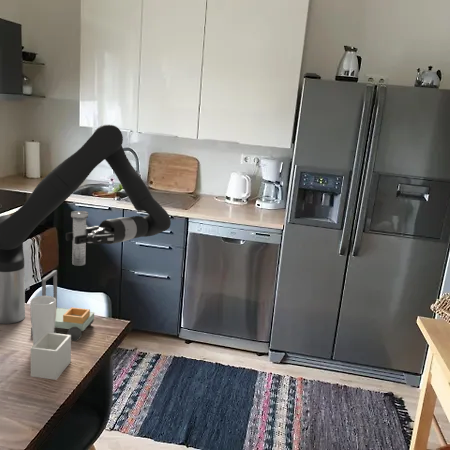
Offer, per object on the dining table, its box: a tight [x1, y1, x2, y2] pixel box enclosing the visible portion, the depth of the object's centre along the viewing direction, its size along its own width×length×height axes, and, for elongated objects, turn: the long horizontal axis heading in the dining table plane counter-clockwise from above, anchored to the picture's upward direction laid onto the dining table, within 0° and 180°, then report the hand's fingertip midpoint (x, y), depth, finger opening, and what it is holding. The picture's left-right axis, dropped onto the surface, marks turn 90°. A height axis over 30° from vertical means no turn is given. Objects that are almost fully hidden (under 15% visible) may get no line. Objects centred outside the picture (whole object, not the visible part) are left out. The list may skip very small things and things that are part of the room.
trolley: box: [41, 269, 95, 342], centre depth 142 cm, size 13×11×18 cm
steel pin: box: [70, 210, 89, 267], centre depth 132 cm, size 5×5×15 cm
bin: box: [30, 332, 72, 380], centre depth 122 cm, size 7×9×8 cm
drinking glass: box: [29, 295, 56, 346], centre depth 131 cm, size 7×7×15 cm
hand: (71, 238), depth 130 cm, fingers closed on steel pin, 3 cm apart
